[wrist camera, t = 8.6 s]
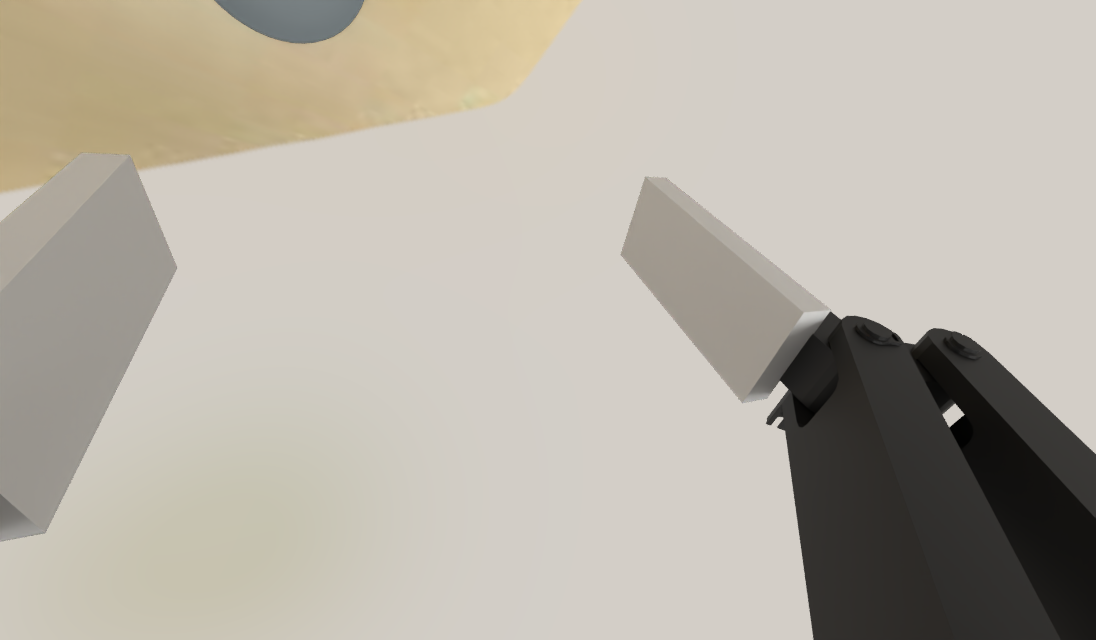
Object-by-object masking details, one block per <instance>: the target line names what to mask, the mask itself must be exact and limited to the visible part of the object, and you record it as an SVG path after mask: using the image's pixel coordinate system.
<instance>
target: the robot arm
mask: <svg viewBox="0 0 1096 640" xmlns="http://www.w3.org/2000/svg"><path fill="white" fill-rule="evenodd" d="M621 256H622V257H623V258H624V259H625V261H626V262H627V263H628V264H629V265H630V267H631V268H632V269H633V270H634V271H635V273H636V274H637V275H638V276H639V278H640V279H641V280H642V281H643V283H644V284H645V285H646V286H647V287H648V289H649V290H650V291H651V292H652V293H653V295H654V296H655V297H656V298H657V300H658V301H659V302H660V303H661V304H662V306H663V307H664V308H665V309H666V310H667V312H668V313H669V314H670V315H671V317H672V318H673V319H674V320H675V322H676V323H677V324H678V325H679V326H680V328H681V329H682V330H683V331H684V332H685V334H686V335H687V336H688V337H689V339H690V340H691V341H692V342H693V343H694V345H695V346H696V347H697V348H698V350H699V351H700V352H701V353H702V354H703V356H704V357H705V358H706V359H707V360H708V362H709V363H710V364H711V365H712V366H713V368H714V369H715V370H716V371H717V373H718V374H719V375H720V376H721V378H722V379H723V380H724V381H725V382H726V384H727V385H728V386H729V387H730V388H731V390H732V391H733V392H734V393H735V395H736V396H737V397H738V398H739V399H740V401H741V402H742V403H745V402H750V401H756V400H762V399H767V398H768V396H769V395H770V393H771V392H772V391H773V389H774V388H775V387H776V385H777V384H778V382H779V381H781V382H782V383H783V384H784V385H785V386H786V387H787V388H788V389H789V390H788V391H787V393H786V394H785V395H784V396H783V398H782V399H781V400H780V402H779V403H778V404H777V406H776V407H775V408H774V410H773V411H772V412H771V414H770V415H769V416H768V418H767V422H766V424H768V425H771V424H772V423H773V422H774V421H775V419H776V418H777V417H783V418H784V419H783V420H782V422H781V423H780V424H779V425H778V428H779V429H782V430H785V432H786V440H787V447H788V455H789V461H790V469H791V477H792V484H793V491H794V499H795V506H796V513H797V520H798V528H799V535H800V543H801V549H802V557H803V565H804V572H805V580H806V586H807V593H808V602H809V608H810V616H811V623H812V631H813V638H814V640H1096V454H1095V453H1094V452H1093V451H1092V450H1091V449H1089V447H1087V446H1086V445H1085V444H1084V443H1083V442H1082V441H1081V440H1080V439H1079V438H1078V437H1077V436H1076V435H1075V434H1074V433H1073V432H1072V431H1071V430H1070V429H1069V428H1067V427H1066V426H1065V425H1064V424H1063V423H1062V422H1061V421H1060V420H1059V419H1058V418H1057V417H1056V416H1055V415H1054V414H1053V413H1052V412H1051V411H1050V410H1049V409H1048V408H1047V407H1045V406H1044V405H1043V404H1042V403H1041V402H1040V401H1039V400H1038V399H1037V398H1036V397H1035V396H1034V395H1033V394H1032V393H1031V392H1030V391H1029V390H1028V389H1027V388H1026V387H1025V386H1023V385H1022V384H1021V383H1020V382H1019V381H1018V380H1017V379H1016V378H1015V377H1014V376H1013V375H1012V374H1011V373H1010V372H1009V371H1008V370H1006V368H1004V366H1002V365H1001V364H1000V363H999V362H998V361H997V360H996V359H995V358H994V357H993V356H992V355H991V354H990V353H989V352H987V351H986V350H985V349H984V348H982V347H981V346H980V345H979V344H977V343H976V342H975V341H973V340H972V339H971V338H969V337H967V336H965V335H962V334H961V333H958V332H951V331H948V330H944V329H936V328H933V329H931V330H929V331H928V332H927V333H926V334H925V335H924V336H923V337H922V338H921V339H920V340H919V341H918V342H917V343H916V344H915V345H914V344H908V343H904V342H903V341H902V340H901V338H900V337H899V336H898V335H897V334H896V333H893V332H892V331H891V330H889V329H888V328H886V327H884V326H883V325H881V324H879V323H877V322H874V321H872V320H869V319H867V318H863V317H858V316H846V317H845V318H843V319H842V320H841V319H839V318H838V317H837V316H836V315H834V314H833V313H832V312H830V311H831V310H830V309H829V308H828V307H827V306H825V305H824V304H823V303H822V302H821V301H819V300H818V299H817V298H815V297H814V296H813V295H812V294H811V293H809V292H808V291H807V290H806V289H804V288H803V287H802V286H801V285H799V284H798V283H797V282H796V281H794V280H793V279H792V278H791V277H789V276H788V275H787V274H786V273H784V272H783V271H782V270H781V269H779V268H778V267H777V266H776V265H774V264H773V263H772V262H771V261H769V260H768V259H767V258H766V257H764V256H763V255H762V254H761V253H759V252H758V251H757V250H755V249H754V248H753V247H752V246H751V245H749V244H748V243H747V242H746V241H744V240H743V239H742V238H741V237H739V236H738V235H737V234H736V233H734V232H733V231H732V230H731V229H729V228H728V227H727V226H726V225H724V224H723V223H722V222H721V221H719V220H718V219H717V218H716V217H714V216H713V215H712V214H711V213H709V212H708V211H707V210H706V209H704V208H703V207H702V206H701V205H700V204H698V203H697V202H696V201H695V200H693V199H692V198H691V197H690V196H688V195H687V194H686V193H685V192H683V191H682V190H681V189H679V188H678V187H677V186H676V185H675V184H673V183H672V182H671V181H670V180H668V179H667V178H658V177H645V179H644V182H643V185H642V189H641V192H640V195H639V198H638V201H637V204H636V208H635V211H634V214H633V218H632V220H631V224H630V227H629V230H628V233H627V236H626V239H625V242H624V246H623V249H622V252H621ZM176 269H177V266H176V263H175V261H174V259H173V256H172V254H171V252H170V249H169V247H168V244H167V242H166V240H165V237H164V235H163V232H162V230H161V228H160V225H159V223H158V220H157V218H156V216H155V213H154V211H153V209H152V206H151V204H150V201H149V199H148V196H147V194H146V192H145V189H144V187H143V185H142V182H141V180H140V178H139V175H138V173H137V170H136V168H135V165H134V163H133V161H132V158H131V156H130V155H124V154H101V153H80V154H79V155H78V156H77V157H76V158H75V159H73V160H72V161H71V162H70V163H69V164H68V165H66V166H65V167H64V168H63V169H62V170H61V171H59V172H58V173H57V174H56V175H55V176H54V177H52V178H51V179H50V180H49V181H48V182H47V183H45V184H44V185H43V186H42V187H41V188H40V189H38V190H37V191H36V192H35V193H34V194H33V195H31V196H30V197H29V198H28V199H27V200H26V201H24V202H23V203H22V204H21V205H20V206H19V207H17V208H16V209H15V210H14V211H13V212H12V213H10V214H9V215H8V216H7V217H6V218H5V219H3V220H2V221H1V222H0V541H6V540H11V539H16V538H22V537H27V536H33V535H38V534H43V533H46V531H47V529H48V527H49V525H50V523H51V520H52V518H53V517H54V515H55V512H56V511H57V508H58V506H59V504H60V502H61V500H62V498H63V496H64V494H65V492H66V490H67V488H68V486H69V484H70V482H71V480H72V478H73V476H74V474H75V472H76V470H77V468H78V466H79V464H80V462H81V460H82V458H83V456H84V454H85V452H86V450H87V448H88V446H89V444H90V442H91V440H92V438H93V436H94V434H95V432H96V430H97V428H98V426H99V424H100V422H101V420H102V418H103V416H104V414H105V412H106V410H107V408H108V406H109V404H110V402H111V400H112V398H113V396H114V394H115V392H116V390H117V388H118V386H119V384H120V382H121V380H122V378H123V376H124V374H125V372H126V370H127V368H128V366H129V364H130V362H131V360H132V358H133V356H134V354H135V351H136V349H137V348H138V346H139V343H140V342H141V340H142V338H143V335H144V334H145V331H146V329H147V328H148V325H149V324H150V322H151V319H152V317H153V316H154V313H155V312H156V310H157V308H158V306H159V304H160V301H161V299H162V297H163V295H164V293H165V291H166V289H167V287H168V285H169V283H170V281H171V279H172V277H173V275H174V273H175V271H176ZM953 404H956V405H957V406H958V407H959V408H960V409H961V411H962V412H963V413H964V414H965V415H964V416H962V417H961V418H960V419H959V420H958V421H957V422H955V423H954V424H953V425H952V426H951V427H948V425H947V423H946V421H945V419H944V417H943V415H942V414H943V413H945V412H946V411H947V410H948V409H949V408H950V407H951V406H953Z"/></svg>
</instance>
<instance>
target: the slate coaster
mask: <svg viewBox="0 0 1096 640" xmlns="http://www.w3.org/2000/svg"><path fill="white" fill-rule="evenodd" d="M215 1H216V2H217V3H218V4H219V5H220V6H221V7H222V8H223V9H224V10H226V11H227V12H228V13H229V14H230V15H232V16H233V17H234V18H236V19H237V20H239V21H240V22H241V23H243V24H244V25H246V26H248V27H250V28H251V29H253V30H255V31H257V32H259V33H261V34H264V35H266V36H268V37H271V38H274V39H278V40H281V41H286V42H292V43H313V42H318V41H323V40H326V39H328V38H331V37H333V36H335V35H336V34H338V33H340V32H341V31H343V30H344V29H345V28H346V27H347V26H348V25H349V24H350V23H351V22H352V21H353V19H354V18H355V17H356V15H357V14H358V12H359V10H360V9H361V7H362V4H363V1H364V0H215Z"/></svg>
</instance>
